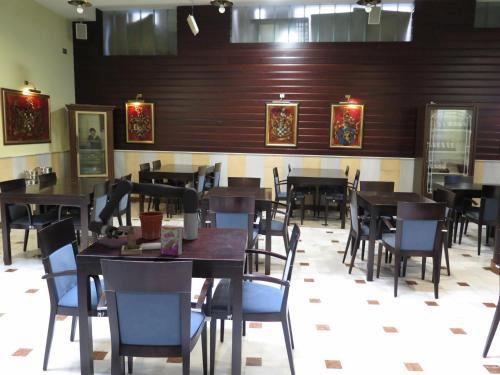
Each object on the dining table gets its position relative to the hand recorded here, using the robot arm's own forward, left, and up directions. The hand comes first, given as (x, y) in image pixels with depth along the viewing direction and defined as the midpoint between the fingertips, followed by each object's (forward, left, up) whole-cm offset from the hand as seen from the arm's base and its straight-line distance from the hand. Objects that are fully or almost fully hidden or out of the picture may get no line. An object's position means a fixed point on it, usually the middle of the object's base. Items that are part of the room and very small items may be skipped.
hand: (124, 236), depth 248 cm
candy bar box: (+15, +26, -8) cm, 32 cm away
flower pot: (-27, +15, -8) cm, 32 cm away
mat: (-4, +15, -8) cm, 18 cm away
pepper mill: (+6, +4, -8) cm, 11 cm away
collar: (+6, +4, -8) cm, 11 cm away
